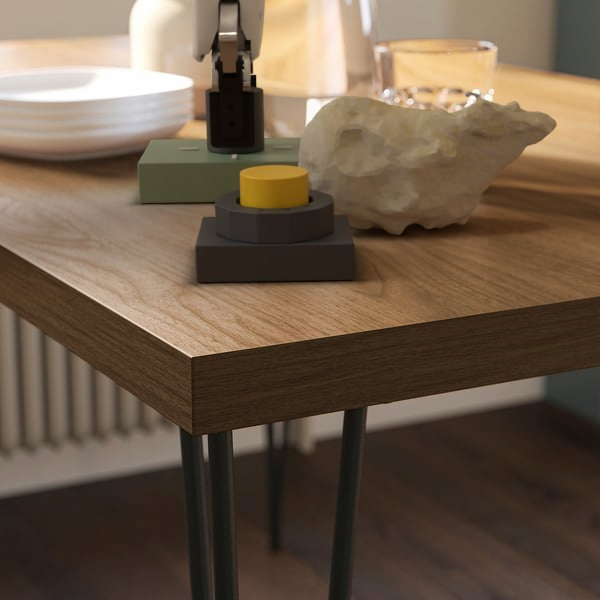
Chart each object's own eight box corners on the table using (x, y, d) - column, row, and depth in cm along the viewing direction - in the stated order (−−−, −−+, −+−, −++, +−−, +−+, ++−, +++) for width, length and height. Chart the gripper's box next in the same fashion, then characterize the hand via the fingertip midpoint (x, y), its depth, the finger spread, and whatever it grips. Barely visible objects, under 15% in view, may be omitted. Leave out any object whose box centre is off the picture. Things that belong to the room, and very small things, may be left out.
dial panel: (139, 203, 86) (137, 160, 85) (153, 176, 96) (151, 137, 95) (330, 200, 87) (329, 158, 86) (324, 173, 96) (324, 135, 95)
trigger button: (239, 214, 67) (238, 179, 67) (241, 198, 71) (240, 165, 70) (309, 213, 67) (309, 177, 67) (307, 197, 71) (307, 164, 71)
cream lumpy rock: (253, 258, 79) (362, 142, 67) (253, 166, 82) (356, 40, 70) (446, 300, 85) (576, 200, 73) (438, 213, 89) (562, 104, 77)
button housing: (196, 282, 67) (193, 214, 66) (203, 250, 74) (201, 187, 72) (354, 280, 67) (354, 212, 66) (347, 248, 74) (347, 185, 73)
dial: (264, 153, 88) (263, 89, 87) (205, 154, 88) (203, 90, 87) (264, 143, 92) (263, 81, 91) (208, 144, 92) (206, 82, 91)
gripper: (185, -98, 93) (193, 118, 98) (166, -104, 77) (177, 157, 82) (280, -99, 93) (283, 117, 98) (281, -105, 77) (285, 156, 82)
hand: (235, 135), depth 90 cm, fingers open, 9 cm apart
